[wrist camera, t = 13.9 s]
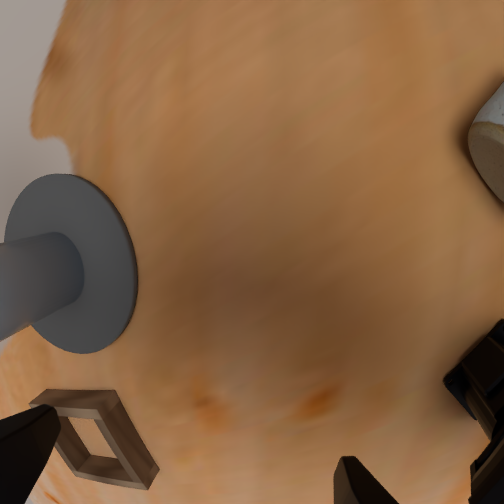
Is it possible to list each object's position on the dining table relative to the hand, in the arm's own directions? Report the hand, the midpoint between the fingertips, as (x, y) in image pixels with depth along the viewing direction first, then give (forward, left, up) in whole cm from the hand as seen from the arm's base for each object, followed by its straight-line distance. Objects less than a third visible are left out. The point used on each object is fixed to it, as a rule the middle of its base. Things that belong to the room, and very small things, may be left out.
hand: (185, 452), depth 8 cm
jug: (+12, +8, -12) cm, 19 cm away
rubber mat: (+12, +9, -12) cm, 19 cm away
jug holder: (+1, +21, -12) cm, 24 cm away
